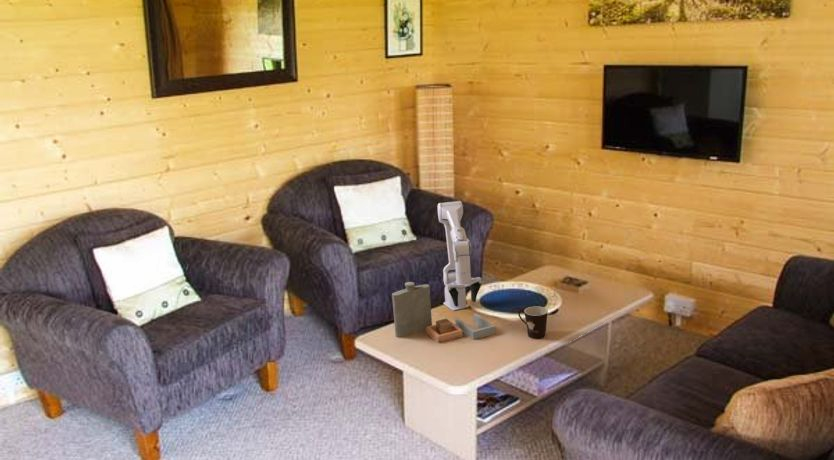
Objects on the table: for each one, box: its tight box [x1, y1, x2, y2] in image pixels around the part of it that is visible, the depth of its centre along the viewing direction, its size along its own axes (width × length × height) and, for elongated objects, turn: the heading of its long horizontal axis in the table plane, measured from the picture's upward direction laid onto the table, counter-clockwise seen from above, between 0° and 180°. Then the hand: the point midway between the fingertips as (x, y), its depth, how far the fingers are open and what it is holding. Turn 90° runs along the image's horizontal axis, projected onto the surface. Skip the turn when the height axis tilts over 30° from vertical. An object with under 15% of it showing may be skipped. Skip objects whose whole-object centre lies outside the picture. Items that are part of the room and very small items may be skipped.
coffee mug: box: [517, 305, 549, 340], centre depth 288 cm, size 12×9×10 cm
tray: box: [425, 320, 464, 344], centre depth 294 cm, size 10×10×2 cm
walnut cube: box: [435, 318, 453, 335], centre depth 293 cm, size 4×4×4 cm
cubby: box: [454, 313, 496, 340], centre depth 296 cm, size 15×9×3 cm, turn 24°
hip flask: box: [391, 281, 433, 339], centre depth 296 cm, size 16×4×20 cm, turn 119°
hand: (464, 303), depth 299 cm, fingers open, 7 cm apart
